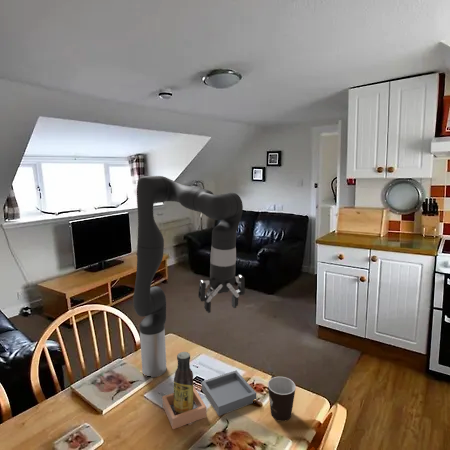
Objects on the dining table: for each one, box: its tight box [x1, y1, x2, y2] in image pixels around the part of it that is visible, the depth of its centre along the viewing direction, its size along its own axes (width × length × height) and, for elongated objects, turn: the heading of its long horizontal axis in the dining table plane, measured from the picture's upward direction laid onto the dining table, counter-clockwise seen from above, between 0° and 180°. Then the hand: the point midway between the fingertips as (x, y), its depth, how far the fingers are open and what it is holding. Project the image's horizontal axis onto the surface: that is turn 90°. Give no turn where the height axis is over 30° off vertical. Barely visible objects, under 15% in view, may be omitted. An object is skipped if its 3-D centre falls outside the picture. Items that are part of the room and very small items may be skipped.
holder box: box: [161, 385, 208, 430], centre depth 104 cm, size 11×11×4 cm
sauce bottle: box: [173, 351, 194, 415], centre depth 102 cm, size 7×6×20 cm
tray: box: [201, 370, 257, 417], centre depth 111 cm, size 14×14×3 cm
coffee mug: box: [267, 375, 297, 422], centre depth 103 cm, size 12×9×10 cm
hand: (221, 309), depth 100 cm, fingers open, 8 cm apart
